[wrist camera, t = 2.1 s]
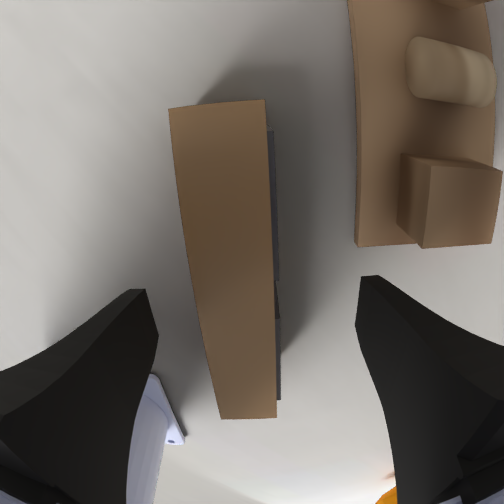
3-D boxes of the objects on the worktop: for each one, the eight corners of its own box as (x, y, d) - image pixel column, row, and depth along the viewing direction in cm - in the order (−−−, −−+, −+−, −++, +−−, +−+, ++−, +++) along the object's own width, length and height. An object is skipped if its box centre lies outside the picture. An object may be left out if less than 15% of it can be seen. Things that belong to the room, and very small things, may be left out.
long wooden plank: (226, 361, 17) (221, 419, 13) (193, 108, 11) (168, 108, 8) (276, 359, 17) (281, 417, 13) (266, 102, 11) (272, 99, 8)
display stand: (353, 241, 14) (377, 276, 11) (332, -79, 7) (350, -113, 4) (475, 234, 13) (510, 262, 10) (465, -44, 7) (499, -60, 4)
